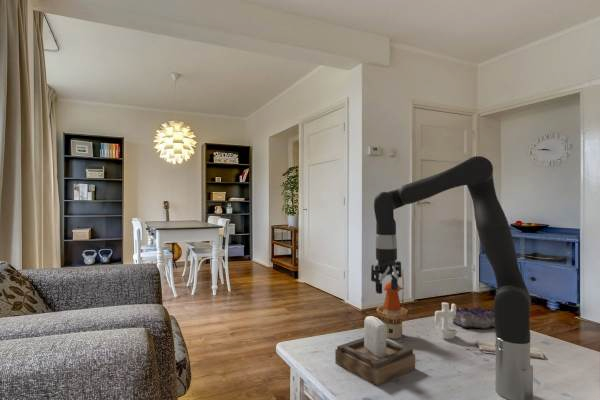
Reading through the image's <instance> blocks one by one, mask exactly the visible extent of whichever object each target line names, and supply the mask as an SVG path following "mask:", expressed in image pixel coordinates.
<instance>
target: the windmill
mask: <svg viewBox="0 0 600 400" xmlns="http://www.w3.org/2000/svg"><path fill="white" fill-rule="evenodd" d="M401 273H402V276H401V278H402V284H401V285H402V287H401V286H400V285H399V284H398V287H397V290H392V289H391V281H389V282H386V284H385V285H384V288H383V291H385V292H386V293H385V298H384V304H383V305H380V306H378V307H377V308H376V313H377V315H378V316H380V318H381V321H382V322H383V323H384V325H385V326H386V339H393V340H397V339H398V340H399V339H402V338H404V336H405V335H404V334H403V320H404V319H406V318H407V314H408V312H409V310H408V309H406V308H404V307H403V306H401V305H402V304H401V303H404V285H405V277H404V269H403V268H401ZM401 290H402V291H401ZM400 291H401V301H400V296H399V292H400Z"/></svg>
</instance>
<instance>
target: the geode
mask: <svg viewBox="0 0 600 400" xmlns="http://www.w3.org/2000/svg"><path fill="white" fill-rule="evenodd" d="M452 323H453V324H455V325H458V326H460V327H462V328H467V329H468V328H475V329H482V330H487V329H489V328H494V329H495V325H494V308H492V309H491V310H490V309H487V308H482V307H479V306H478V307H472V308H466V307H464V308H463V307H459V308H456V315H455V316H454V317H452Z"/></svg>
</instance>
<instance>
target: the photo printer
mask: <svg viewBox="0 0 600 400" xmlns="http://www.w3.org/2000/svg"><path fill="white" fill-rule="evenodd" d="M363 322H364V323H363V325H364V326H363V327H364V328H363V331H364V332H363V333H364V334H363V336H364V337H363V338H364V347H365V348H366V349H367V350H369V351H370V352H371V353H372V354H374V355H375V356H376V357H379V358H382V357H385V356H386V340H387V338H386V326H385V325H384V323H383V322H382V319H379V318H378V317H376V316H373V315H368V316H366V317H365V319H364V321H363Z"/></svg>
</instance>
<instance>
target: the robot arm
mask: <svg viewBox="0 0 600 400" xmlns="http://www.w3.org/2000/svg"><path fill="white" fill-rule="evenodd" d="M493 174H494V165H493V164H492V162H491V160H490V159H488V158H486V157H484V156H480V155H476V156H472V157H470V158H467V159H466V160H464V161H463V162H460V163H458V164H456V165H455V166H453V167H451V168H449V169H447V170H446V169H445V170H444V171H442V172H439V173H436V174H433V175H431V176H428V177H424V178H422V179H421V178H420V179H418V180H415V181H412V182H409V183H406V184H404V185H401V187H398V188H396V189H393V190H390V191H380V192H379V193H378V194H376V195H375V197H374V200H373V210H374V216H375V221H376V223H375V227H376V228H375V230H376V233H375V234H376V235H375V259H376V260H377V264H373V263H372V264H371V271H370V272H371V275H370V280H371V282H374V283H375V292H376V294H378V295H381V294H382V295H383V281H384V279H385V278H387V276H389V277H390V278H391V279H390V282H391V289H392V290H397V287H398V285H399V284H398V282H399V279H400V278H402V262H401V261H399V260H398V238H397V224H396V223H397V221H396V219H395V218H394V210H396V209H397V210H398V209H399V208H401V207H404V206H406V205H410V204H414V203H417V202H422V201H423V200H425V199H426V200H427V199H429V198H431V197H434V196H436V195H438V194H441V193H444V192H445V191H448V190H451V189H454V188H458V187H463V186H467V189H468V191H469V194H470V197H471V200H472V204H473V211H474V212H473V213H474V220H475V227H476V231H477V234H478V235H477V236H478V239H479V241H480V245H481V247H482V250H483V252H484V254H485V256H486V259H487V260H488V262H489V263H490V266H491V268H492V270H493V273H494V277H495V281H496V289H497V293H496V294H495V296H494V299H493V300H494V301H493V302H494V303H493V310H494V325H495V328H494V330H495V343H496V352H495V353H496V354H495V383H494V384H495V392H496V393H497V394H498V395H499V396H501V397H502V398H504V399H507V400H532V398H533V397H534V366H533V365H532V364H531V359H530V347H531V330H530V311H531V310H530V308H531V306H532V299H531V295H530V293H529V291H528V287H527V286H526V283H525V280H524V278H523V276H522V273H521V270H520V267H519V263H518V257H517V252H516V247H515V243H514V238H513V234H512V230H511V228H510V225H509V221H508V219H507V216H506V213H505V211H504V209H503V208H502V205H501V203H500V201H499V199H498V195H497V193H496V187H495V182H494V175H493Z"/></svg>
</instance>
